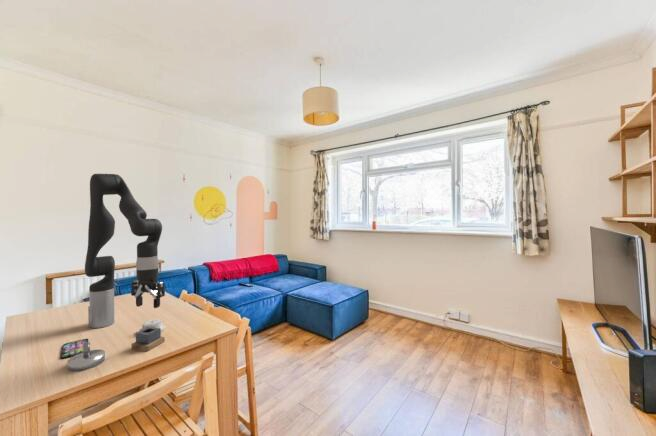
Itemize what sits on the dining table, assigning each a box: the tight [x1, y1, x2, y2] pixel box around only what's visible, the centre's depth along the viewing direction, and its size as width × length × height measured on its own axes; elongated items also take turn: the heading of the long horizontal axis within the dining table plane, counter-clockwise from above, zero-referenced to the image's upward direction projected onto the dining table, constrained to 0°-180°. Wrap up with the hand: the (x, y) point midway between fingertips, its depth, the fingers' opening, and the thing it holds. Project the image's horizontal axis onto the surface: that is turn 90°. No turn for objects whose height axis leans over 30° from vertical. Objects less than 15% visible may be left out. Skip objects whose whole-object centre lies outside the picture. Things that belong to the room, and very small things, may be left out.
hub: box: [67, 341, 106, 372], centre depth 96 cm, size 10×10×8 cm
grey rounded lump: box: [138, 319, 166, 333], centre depth 123 cm, size 10×4×10 cm
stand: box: [131, 332, 166, 352], centre depth 110 cm, size 8×8×5 cm
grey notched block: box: [135, 327, 162, 345], centre depth 110 cm, size 6×6×4 cm
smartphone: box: [60, 338, 89, 360], centre depth 107 cm, size 8×1×15 cm
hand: (148, 306), depth 110 cm, fingers open, 8 cm apart
